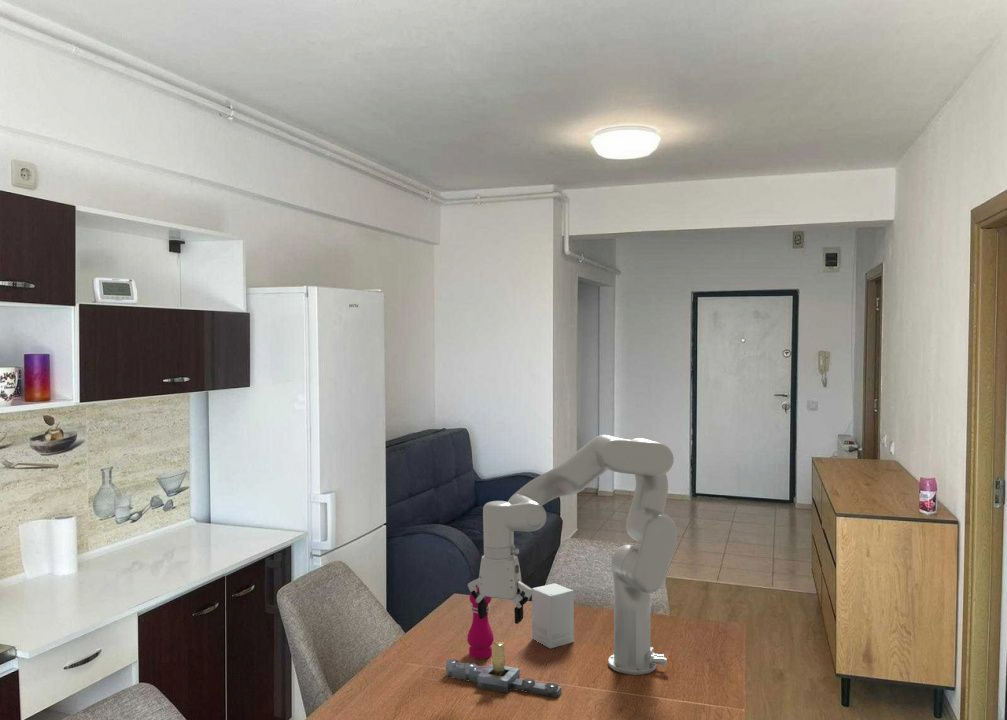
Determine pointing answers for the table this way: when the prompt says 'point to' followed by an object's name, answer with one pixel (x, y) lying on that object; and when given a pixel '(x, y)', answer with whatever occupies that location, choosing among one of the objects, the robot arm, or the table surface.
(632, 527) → the robot arm
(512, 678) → the chain ends
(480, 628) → the pepper mill
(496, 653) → the brass pin
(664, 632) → the table surface
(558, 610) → the supplement box
